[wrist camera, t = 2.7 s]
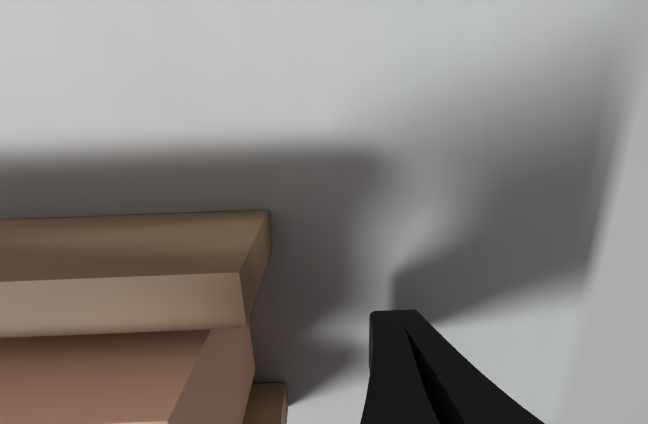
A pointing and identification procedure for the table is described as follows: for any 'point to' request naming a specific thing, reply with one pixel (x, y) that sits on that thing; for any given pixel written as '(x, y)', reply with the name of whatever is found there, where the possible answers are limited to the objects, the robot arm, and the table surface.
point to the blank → (127, 378)
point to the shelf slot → (138, 279)
